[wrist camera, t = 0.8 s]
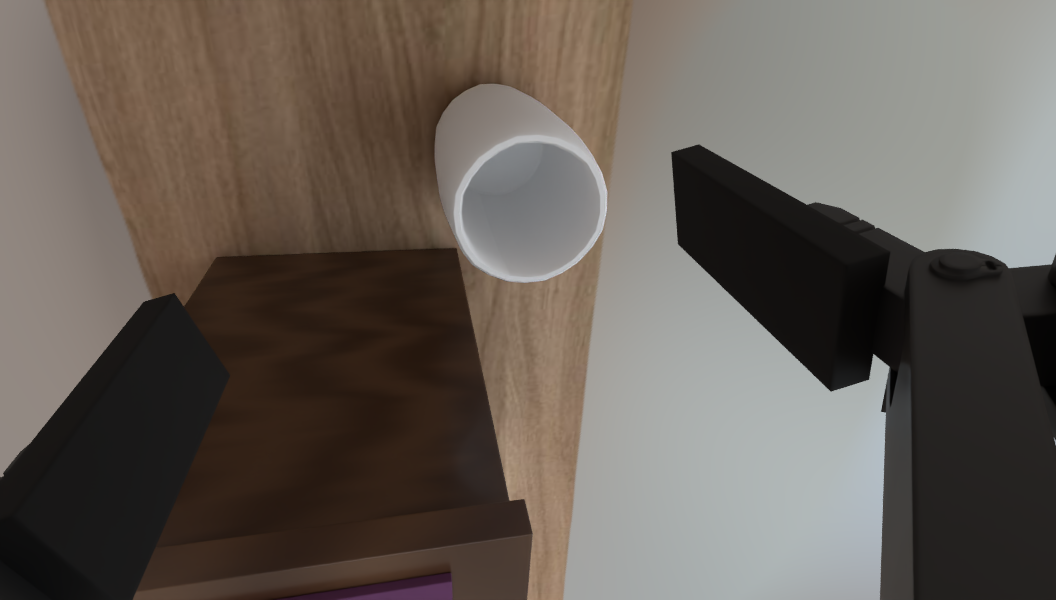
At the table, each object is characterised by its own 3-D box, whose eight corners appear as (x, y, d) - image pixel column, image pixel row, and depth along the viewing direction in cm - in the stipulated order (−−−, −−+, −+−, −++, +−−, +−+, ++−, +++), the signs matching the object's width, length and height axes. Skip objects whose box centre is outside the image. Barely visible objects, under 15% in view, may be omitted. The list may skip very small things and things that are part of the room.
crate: (268, 478, 50) (165, 873, 28) (206, 250, 38) (-54, 619, 16) (465, 456, 53) (510, 790, 31) (463, 241, 42) (533, 534, 20)
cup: (565, 98, 38) (642, 154, 26) (526, 209, 41) (578, 303, 29) (447, 57, 35) (471, 99, 23) (416, 180, 39) (423, 270, 27)
